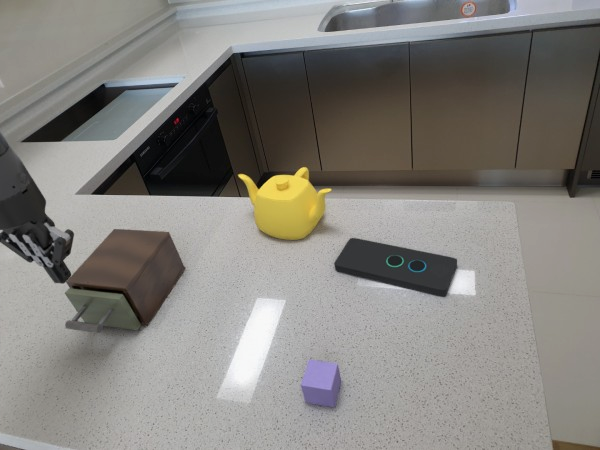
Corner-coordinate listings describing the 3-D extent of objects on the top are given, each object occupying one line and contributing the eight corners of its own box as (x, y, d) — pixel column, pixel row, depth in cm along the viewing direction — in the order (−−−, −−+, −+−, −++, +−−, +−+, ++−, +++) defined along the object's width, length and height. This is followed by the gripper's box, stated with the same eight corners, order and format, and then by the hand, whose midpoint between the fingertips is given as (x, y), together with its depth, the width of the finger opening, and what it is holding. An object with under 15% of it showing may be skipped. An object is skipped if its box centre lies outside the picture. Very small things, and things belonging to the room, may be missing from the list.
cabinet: (147, 326, 81) (125, 288, 75) (90, 318, 85) (65, 282, 79) (185, 268, 91) (169, 231, 86) (133, 264, 96) (114, 228, 90)
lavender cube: (334, 407, 63) (330, 390, 60) (305, 402, 64) (300, 385, 61) (341, 380, 66) (337, 363, 63) (313, 376, 67) (308, 359, 65)
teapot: (356, 206, 98) (351, 162, 92) (323, 252, 88) (314, 207, 82) (271, 190, 109) (261, 150, 102) (233, 230, 99) (219, 189, 92)
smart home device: (445, 291, 73) (332, 264, 82) (445, 298, 74) (333, 271, 84) (458, 257, 78) (350, 236, 88) (458, 264, 80) (351, 242, 89)
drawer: (122, 353, 76) (101, 322, 71) (68, 344, 79) (45, 314, 75) (174, 275, 89) (160, 244, 84) (126, 270, 93) (110, 241, 88)
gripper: (-59, 201, 60) (14, 293, 70) (17, 204, 56) (82, 301, 66) (-14, 170, 65) (47, 260, 76) (58, 171, 61) (112, 265, 72)
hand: (63, 279), depth 71 cm, fingers closed
